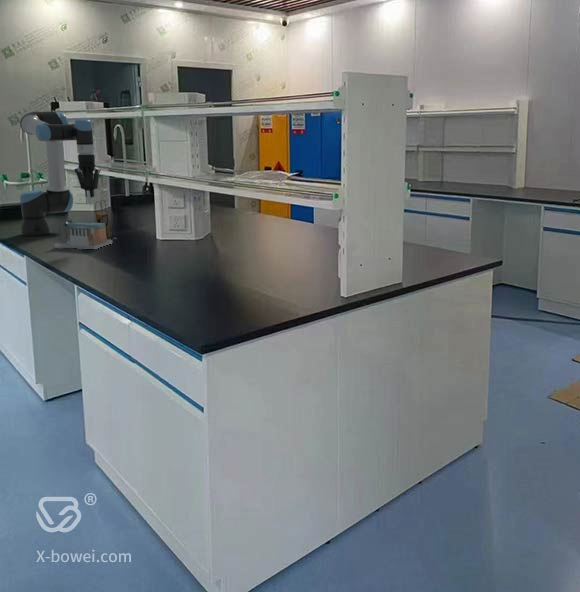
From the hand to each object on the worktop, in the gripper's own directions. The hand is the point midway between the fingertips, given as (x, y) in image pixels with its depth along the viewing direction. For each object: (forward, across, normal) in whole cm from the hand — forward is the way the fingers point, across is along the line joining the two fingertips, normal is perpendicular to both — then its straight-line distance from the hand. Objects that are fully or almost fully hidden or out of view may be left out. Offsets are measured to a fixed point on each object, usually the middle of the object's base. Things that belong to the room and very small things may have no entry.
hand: (90, 203), depth 300 cm
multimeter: (+21, -4, +21) cm, 30 cm away
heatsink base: (+21, -6, 0) cm, 22 cm away
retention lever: (+11, -5, 0) cm, 13 cm away
